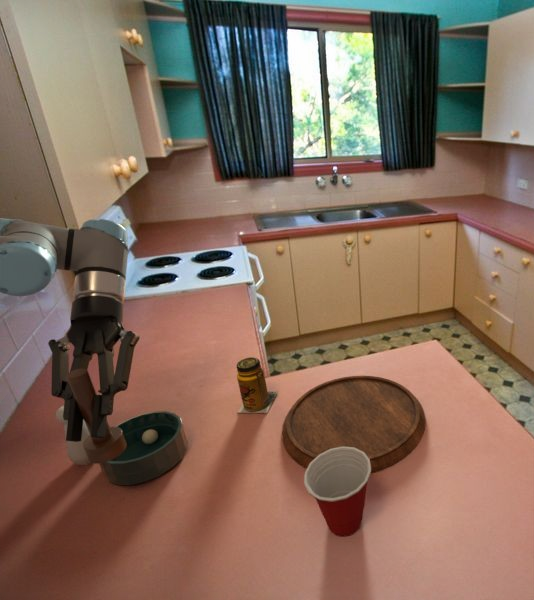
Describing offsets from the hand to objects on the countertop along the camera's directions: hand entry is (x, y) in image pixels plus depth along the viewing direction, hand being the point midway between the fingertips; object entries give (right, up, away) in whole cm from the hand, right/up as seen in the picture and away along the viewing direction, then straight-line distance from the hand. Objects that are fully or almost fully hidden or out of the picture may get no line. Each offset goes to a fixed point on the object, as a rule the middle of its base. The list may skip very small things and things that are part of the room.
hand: (85, 438), depth 67 cm
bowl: (-2, -11, +21) cm, 24 cm away
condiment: (+15, -3, +37) cm, 40 cm away
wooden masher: (-1, -4, +6) cm, 7 cm away
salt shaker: (-15, -11, +21) cm, 29 cm away
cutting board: (+39, -6, +29) cm, 50 cm away
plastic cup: (+40, -16, +6) cm, 44 cm away
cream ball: (-4, -7, +24) cm, 25 cm away
